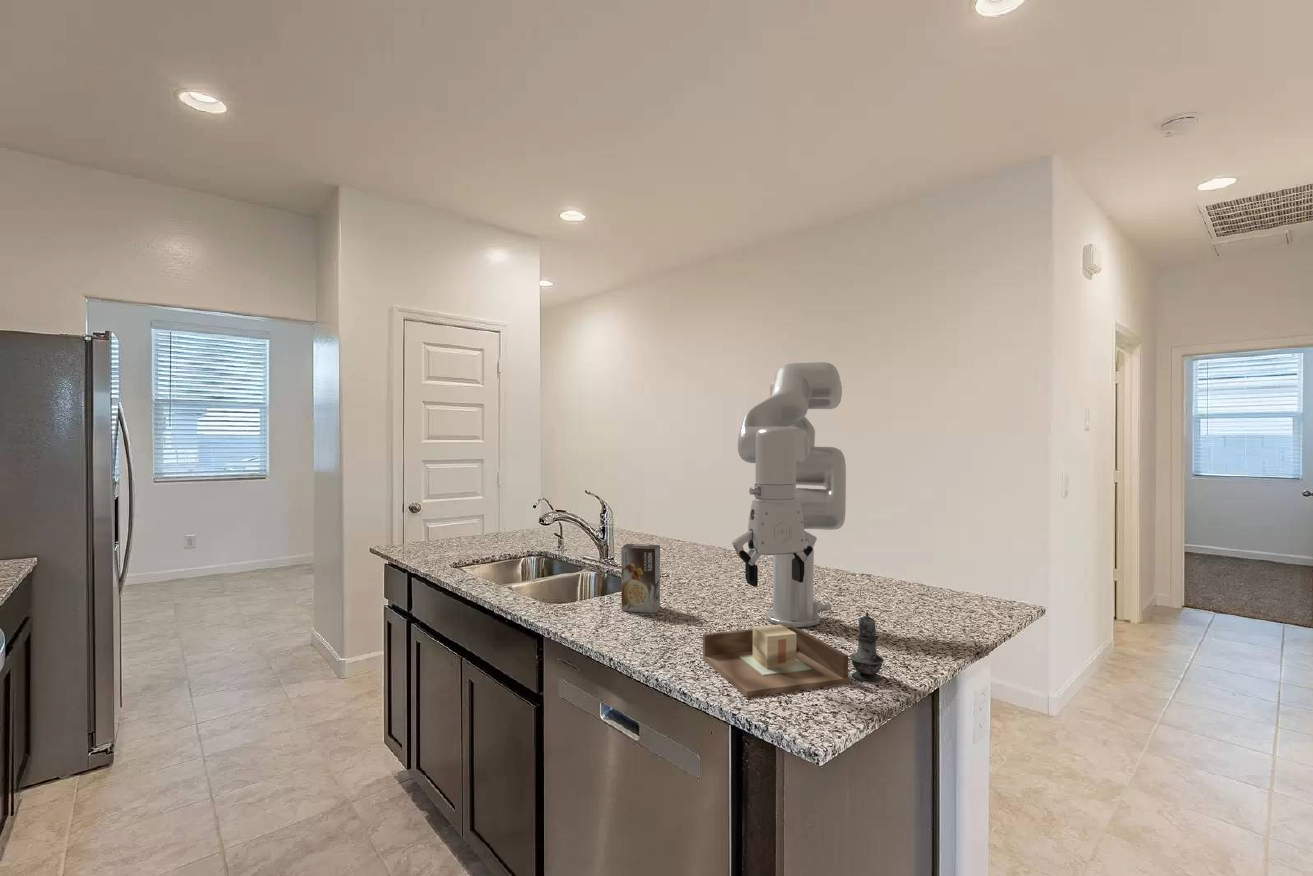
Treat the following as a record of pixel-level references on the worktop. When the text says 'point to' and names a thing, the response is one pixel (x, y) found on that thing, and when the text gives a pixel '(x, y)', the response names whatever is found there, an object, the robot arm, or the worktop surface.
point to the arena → (752, 679)
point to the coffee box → (640, 578)
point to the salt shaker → (866, 653)
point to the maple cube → (774, 646)
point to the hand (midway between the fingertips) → (775, 582)
